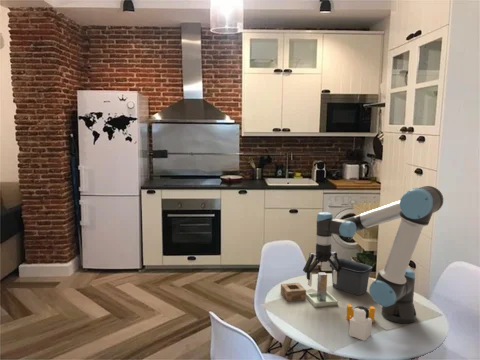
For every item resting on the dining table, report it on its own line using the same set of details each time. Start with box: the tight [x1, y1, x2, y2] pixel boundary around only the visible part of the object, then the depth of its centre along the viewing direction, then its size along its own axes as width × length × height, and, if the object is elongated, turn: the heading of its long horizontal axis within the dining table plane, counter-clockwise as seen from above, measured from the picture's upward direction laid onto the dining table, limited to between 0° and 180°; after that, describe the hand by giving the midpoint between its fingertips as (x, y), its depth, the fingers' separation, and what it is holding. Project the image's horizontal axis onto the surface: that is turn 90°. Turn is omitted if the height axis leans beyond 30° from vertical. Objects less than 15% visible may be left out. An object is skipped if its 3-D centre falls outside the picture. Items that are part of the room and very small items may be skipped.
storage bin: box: [329, 257, 373, 296], centre depth 215 cm, size 21×16×14 cm
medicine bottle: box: [348, 305, 373, 342], centre depth 166 cm, size 7×7×12 cm
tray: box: [306, 290, 339, 308], centre depth 200 cm, size 12×12×2 cm
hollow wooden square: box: [280, 282, 307, 302], centre depth 205 cm, size 10×10×5 cm
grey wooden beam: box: [316, 271, 328, 302], centre depth 199 cm, size 3×3×14 cm
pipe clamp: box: [346, 303, 376, 324], centre depth 181 cm, size 12×4×6 cm, turn 79°
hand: (322, 284), depth 199 cm, fingers open, 13 cm apart
